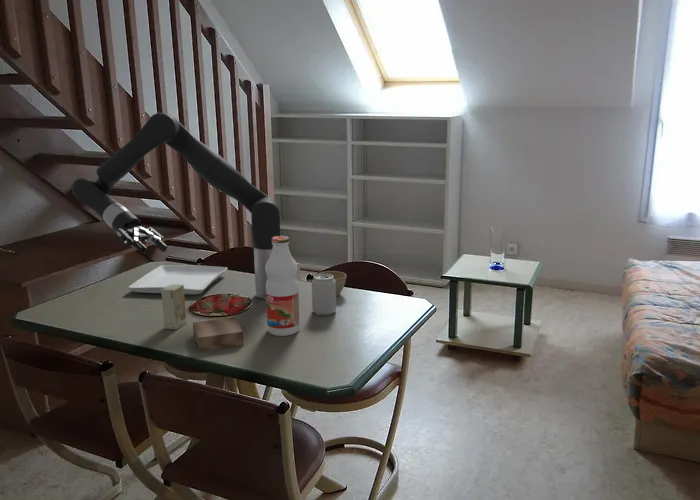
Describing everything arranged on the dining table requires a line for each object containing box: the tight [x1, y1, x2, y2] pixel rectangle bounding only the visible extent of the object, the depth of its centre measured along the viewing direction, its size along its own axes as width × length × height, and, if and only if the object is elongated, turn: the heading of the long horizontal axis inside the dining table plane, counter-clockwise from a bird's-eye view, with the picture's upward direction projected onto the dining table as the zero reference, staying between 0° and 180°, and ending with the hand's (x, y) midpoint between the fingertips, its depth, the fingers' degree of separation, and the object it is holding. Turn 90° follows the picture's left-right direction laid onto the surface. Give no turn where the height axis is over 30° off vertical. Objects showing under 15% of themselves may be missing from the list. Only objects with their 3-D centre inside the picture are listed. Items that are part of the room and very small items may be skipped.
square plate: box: [127, 264, 229, 295], centre depth 222 cm, size 27×27×4 cm
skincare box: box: [161, 284, 187, 330], centre depth 182 cm, size 6×4×12 cm
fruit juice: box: [265, 235, 301, 337], centre depth 176 cm, size 9×9×28 cm
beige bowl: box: [316, 270, 347, 298], centre depth 209 cm, size 10×10×7 cm
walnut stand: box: [192, 316, 245, 352], centre depth 172 cm, size 12×12×4 cm
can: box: [311, 273, 337, 316], centre depth 192 cm, size 8×8×12 cm
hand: (155, 250), depth 185 cm, fingers open, 8 cm apart
